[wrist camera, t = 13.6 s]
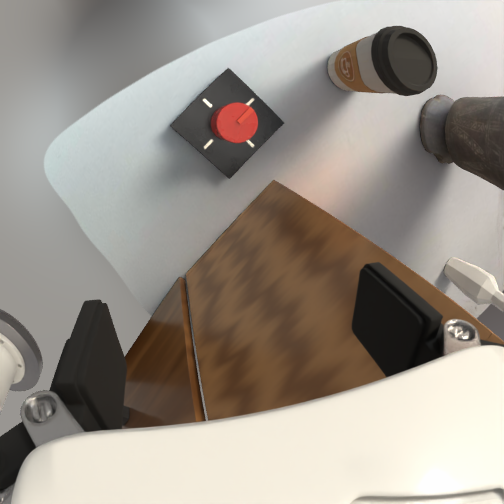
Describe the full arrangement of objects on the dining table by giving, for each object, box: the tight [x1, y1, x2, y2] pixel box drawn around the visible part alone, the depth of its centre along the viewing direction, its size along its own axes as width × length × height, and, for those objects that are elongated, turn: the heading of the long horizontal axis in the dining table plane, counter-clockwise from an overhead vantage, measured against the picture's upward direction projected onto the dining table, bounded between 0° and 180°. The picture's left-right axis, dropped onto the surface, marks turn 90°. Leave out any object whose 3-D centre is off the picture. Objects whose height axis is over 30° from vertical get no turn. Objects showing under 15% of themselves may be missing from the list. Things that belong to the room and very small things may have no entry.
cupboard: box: [186, 180, 504, 421], centre depth 31 cm, size 18×18×36 cm
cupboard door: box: [122, 277, 206, 429], centre depth 29 cm, size 8×18×36 cm, turn 141°
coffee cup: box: [327, 26, 437, 96], centre depth 31 cm, size 8×8×15 cm
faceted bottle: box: [444, 257, 504, 313], centre depth 49 cm, size 6×6×22 cm
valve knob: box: [211, 103, 258, 143], centre depth 33 cm, size 4×4×6 cm
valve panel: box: [170, 68, 284, 179], centre depth 37 cm, size 10×10×2 cm
